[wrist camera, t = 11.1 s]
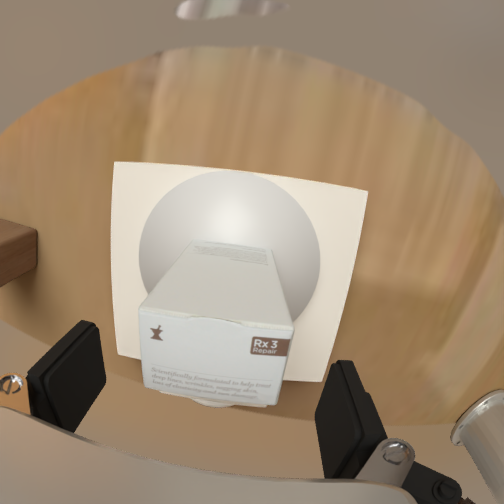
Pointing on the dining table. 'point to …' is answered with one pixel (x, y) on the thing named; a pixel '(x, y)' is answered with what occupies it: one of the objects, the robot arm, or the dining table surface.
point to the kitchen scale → (241, 233)
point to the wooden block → (16, 250)
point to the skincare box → (217, 325)
